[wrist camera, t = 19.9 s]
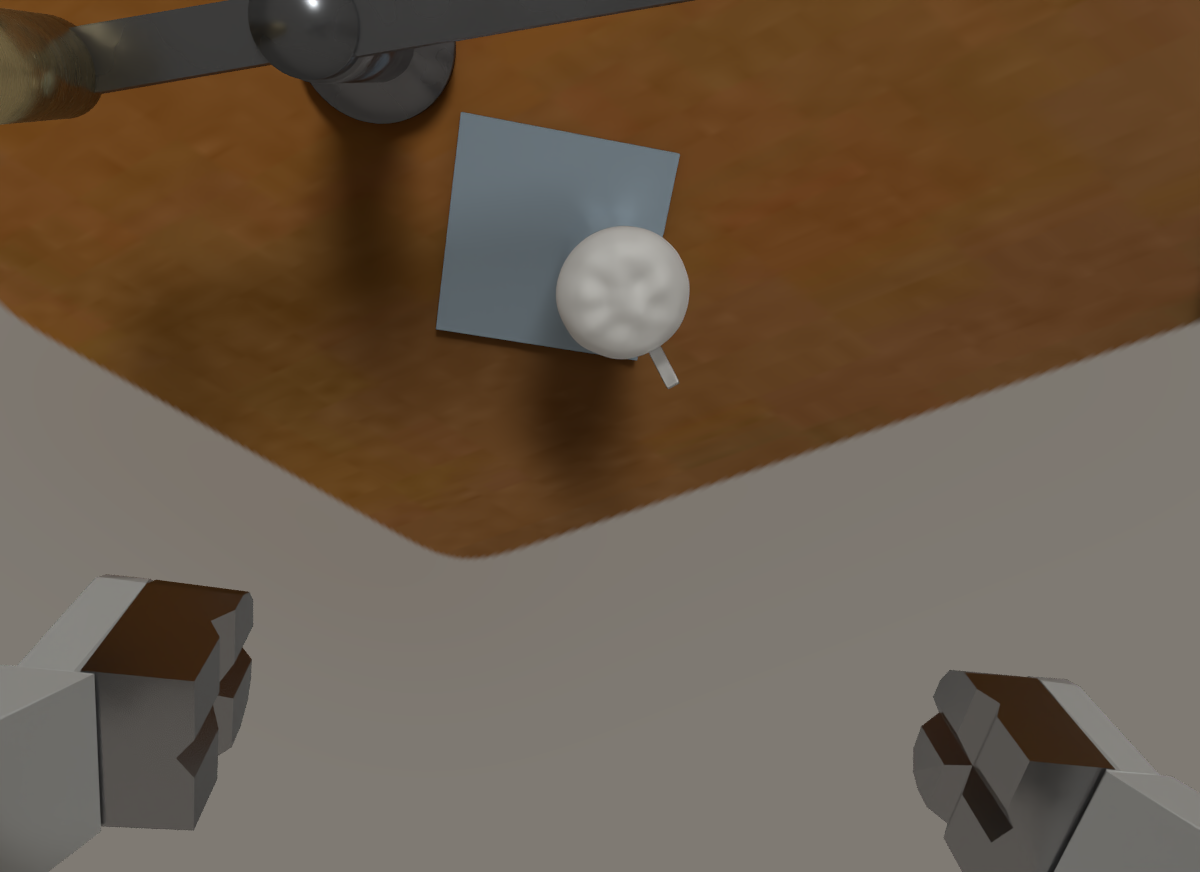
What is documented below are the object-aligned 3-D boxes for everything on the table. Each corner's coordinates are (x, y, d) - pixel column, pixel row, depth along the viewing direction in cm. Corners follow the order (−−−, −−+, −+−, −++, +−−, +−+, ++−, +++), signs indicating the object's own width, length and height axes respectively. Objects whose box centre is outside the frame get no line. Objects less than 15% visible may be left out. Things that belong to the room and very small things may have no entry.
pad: (678, 153, 36) (680, 154, 35) (635, 357, 39) (637, 360, 39) (461, 112, 35) (460, 112, 34) (437, 326, 38) (436, 329, 37)
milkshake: (594, 336, 38) (613, 419, 29) (532, 231, 36) (531, 283, 27) (684, 285, 37) (734, 353, 28) (626, 175, 35) (658, 209, 26)
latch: (712, 13, 24) (759, -5, 19) (36, 129, 24) (-96, 142, 19) (701, -102, 23) (749, -152, 18) (-7, 19, 23) (-160, 2, 18)
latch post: (464, -29, 33) (435, -74, 23) (446, 135, 35) (413, 156, 25) (303, -63, 32) (202, -126, 22) (294, 107, 34) (200, 118, 24)
